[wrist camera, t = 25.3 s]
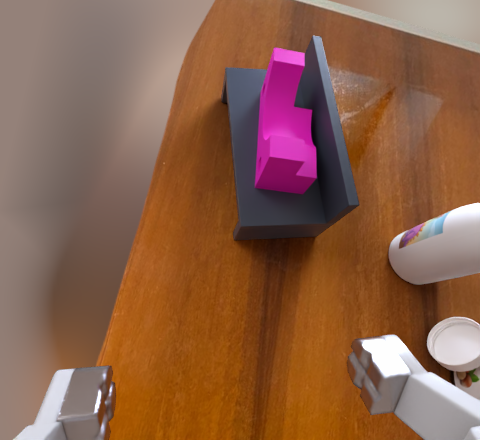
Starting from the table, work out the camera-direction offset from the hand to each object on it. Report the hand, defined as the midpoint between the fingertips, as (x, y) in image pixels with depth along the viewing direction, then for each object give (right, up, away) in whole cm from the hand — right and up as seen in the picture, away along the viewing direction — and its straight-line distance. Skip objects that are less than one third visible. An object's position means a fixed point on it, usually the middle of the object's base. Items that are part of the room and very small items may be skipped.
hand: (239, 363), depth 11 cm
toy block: (+5, +15, +32) cm, 36 cm away
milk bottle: (+25, -1, +36) cm, 44 cm away
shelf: (+4, +14, +37) cm, 40 cm away
